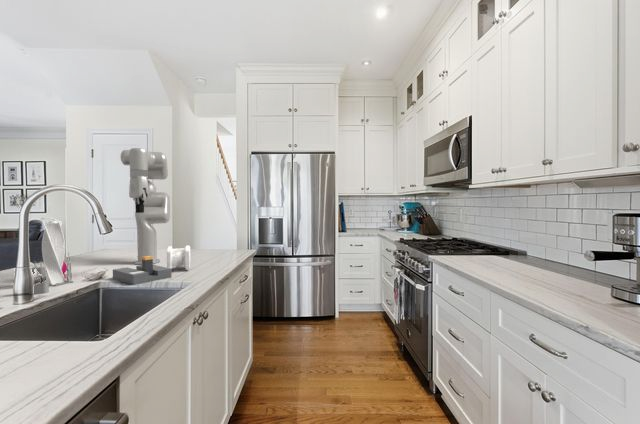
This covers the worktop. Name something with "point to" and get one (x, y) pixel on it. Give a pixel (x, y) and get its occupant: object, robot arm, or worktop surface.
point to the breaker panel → (141, 274)
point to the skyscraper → (55, 253)
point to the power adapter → (43, 286)
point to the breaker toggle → (147, 264)
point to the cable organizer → (178, 257)
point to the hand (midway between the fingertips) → (139, 212)
